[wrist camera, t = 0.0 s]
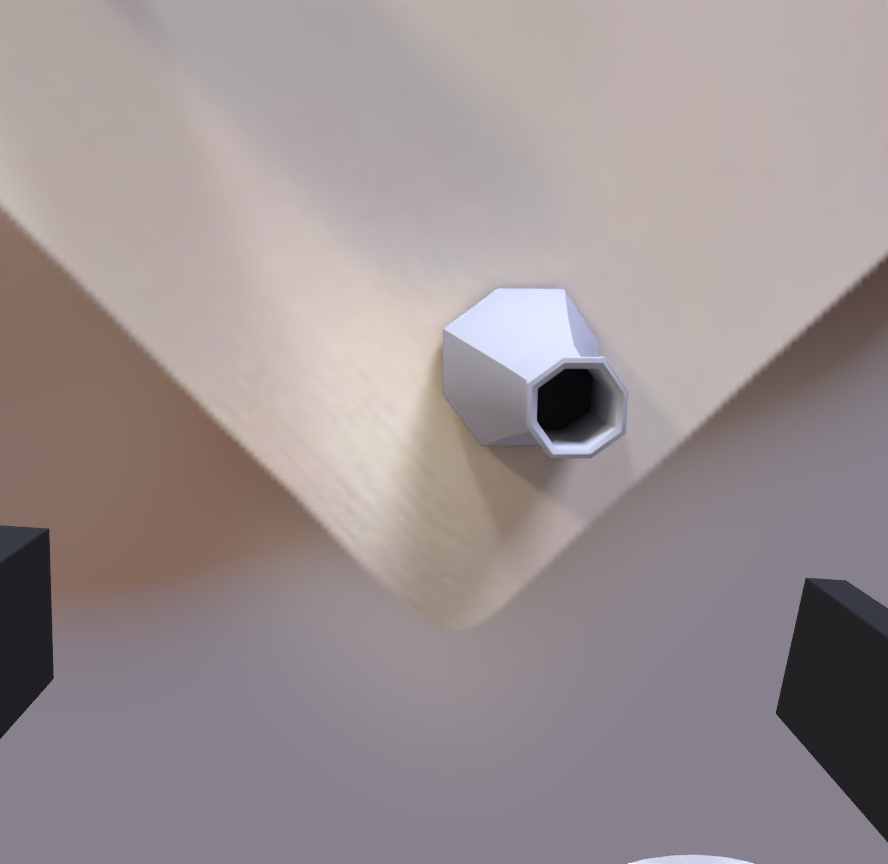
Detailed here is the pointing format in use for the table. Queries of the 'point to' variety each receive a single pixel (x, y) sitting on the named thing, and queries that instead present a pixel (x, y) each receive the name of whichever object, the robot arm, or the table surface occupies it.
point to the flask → (532, 375)
